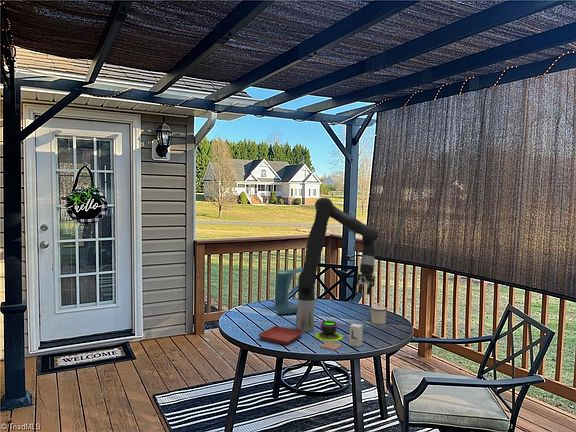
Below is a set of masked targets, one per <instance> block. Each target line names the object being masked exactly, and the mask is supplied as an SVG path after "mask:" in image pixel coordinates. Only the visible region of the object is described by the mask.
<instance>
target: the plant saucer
mask: <svg viewBox="0 0 576 432" xmlns="http://www.w3.org/2000/svg"><path fill="white" fill-rule="evenodd" d="M304 332H305V331H300V330H298V329H294V328H289V327H285V326H284V327H283V326H278V325H274V326H273V327H271V328H268V329H266V330H265V331H263V332H260V333H259V334H257V335H258V337H259V338H260V339H261V340H263V341H267V342H270V343H275V344H281V345H284V346H288V345H289V344H292V342H294V341H296V340H298V339H299V338H300V337H301V336H302V335H303V334H304Z"/></svg>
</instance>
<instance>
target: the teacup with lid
mask: <svg viewBox="0 0 576 432" xmlns="http://www.w3.org/2000/svg"><path fill="white" fill-rule="evenodd" d="M369 314H370V316H371V318H370V322H371V323H372V324H374V325H385V324H386V321H387V319H386V318H387V307H386V306H383V305H382V303H381V302H378V303H377V304H376V305H372V306H371V308H370V309H369Z"/></svg>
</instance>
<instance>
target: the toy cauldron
mask: <svg viewBox="0 0 576 432" xmlns="http://www.w3.org/2000/svg"><path fill="white" fill-rule="evenodd" d="M327 316H329V315H326V316H325V319H327V318H332V316H329V317H327ZM336 320H338V319H337V318H335V320H322V321H319V322H318V324H319V326H320V328H321V329H320V330H321V332H320V331H319V332H317V333H315V335H314V337H315V338H316V339H318V340H321V341H325V342H327V341H328V342H338V341H341V340H342V339H343V337H344V336H343V335H342V334H341V333H338V332H337V331H338V328H339V327H340V322H338V321H336Z"/></svg>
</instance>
